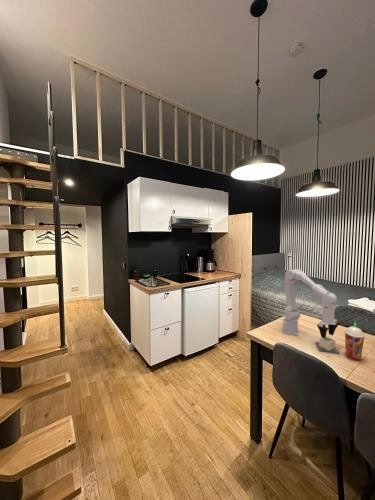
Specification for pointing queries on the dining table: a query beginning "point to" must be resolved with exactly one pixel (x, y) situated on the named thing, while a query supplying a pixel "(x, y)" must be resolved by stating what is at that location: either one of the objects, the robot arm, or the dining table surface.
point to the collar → (327, 343)
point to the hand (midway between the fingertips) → (327, 336)
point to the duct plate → (326, 349)
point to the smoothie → (354, 342)
